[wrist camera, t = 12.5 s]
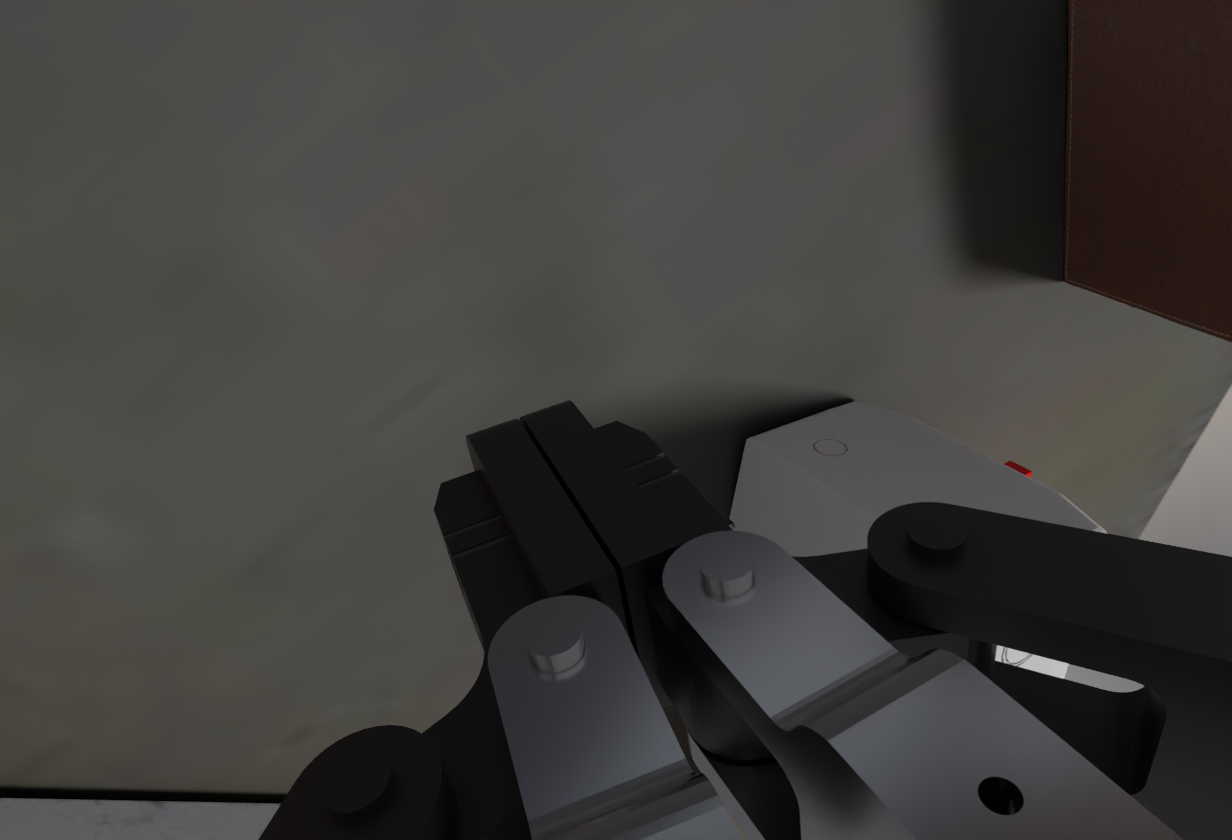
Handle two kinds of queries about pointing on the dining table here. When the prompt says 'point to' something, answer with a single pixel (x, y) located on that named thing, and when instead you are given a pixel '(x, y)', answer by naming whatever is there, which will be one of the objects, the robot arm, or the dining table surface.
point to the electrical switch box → (878, 486)
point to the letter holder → (1151, 157)
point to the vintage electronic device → (131, 820)
